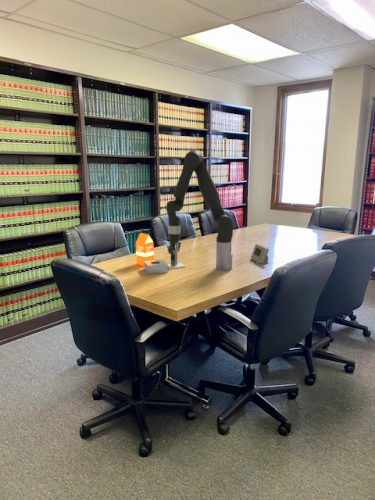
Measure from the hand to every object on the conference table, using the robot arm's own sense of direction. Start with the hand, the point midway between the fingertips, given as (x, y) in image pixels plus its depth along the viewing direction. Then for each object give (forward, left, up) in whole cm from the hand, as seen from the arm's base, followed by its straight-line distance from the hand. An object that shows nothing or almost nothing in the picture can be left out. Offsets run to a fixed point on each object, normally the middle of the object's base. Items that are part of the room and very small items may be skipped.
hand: (174, 259), depth 233 cm
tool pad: (-1, 0, -5) cm, 5 cm away
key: (0, 0, -4) cm, 4 cm away
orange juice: (+16, -13, -5) cm, 21 cm away
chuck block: (+13, +5, -5) cm, 15 cm away
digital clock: (-57, +6, -5) cm, 57 cm away
